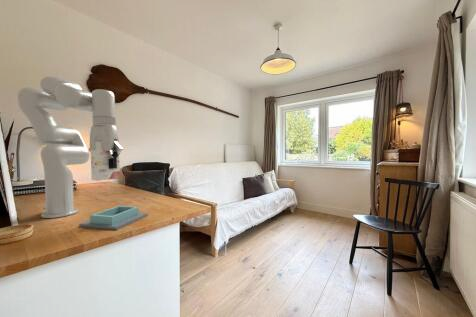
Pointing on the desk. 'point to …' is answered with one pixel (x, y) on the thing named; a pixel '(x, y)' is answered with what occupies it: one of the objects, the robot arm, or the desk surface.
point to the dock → (114, 218)
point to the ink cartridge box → (102, 165)
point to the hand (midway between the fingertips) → (105, 167)
